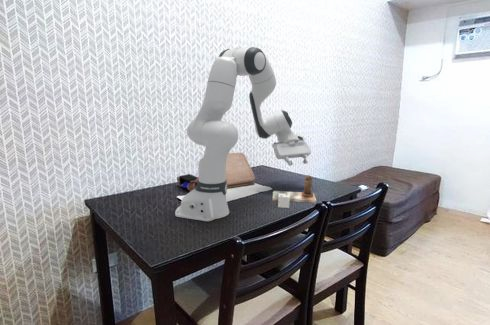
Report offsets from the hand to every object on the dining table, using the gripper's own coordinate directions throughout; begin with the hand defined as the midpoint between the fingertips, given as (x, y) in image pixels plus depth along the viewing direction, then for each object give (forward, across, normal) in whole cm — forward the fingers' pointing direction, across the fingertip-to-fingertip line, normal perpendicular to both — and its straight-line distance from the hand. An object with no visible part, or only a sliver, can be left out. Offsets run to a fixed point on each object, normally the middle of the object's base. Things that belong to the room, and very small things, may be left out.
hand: (298, 163), depth 148 cm
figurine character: (-11, -47, +34) cm, 59 cm away
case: (-12, -21, +34) cm, 42 cm away
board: (+14, -5, +8) cm, 17 cm away
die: (+19, -16, +4) cm, 25 cm away
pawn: (+16, 0, +4) cm, 16 cm away
